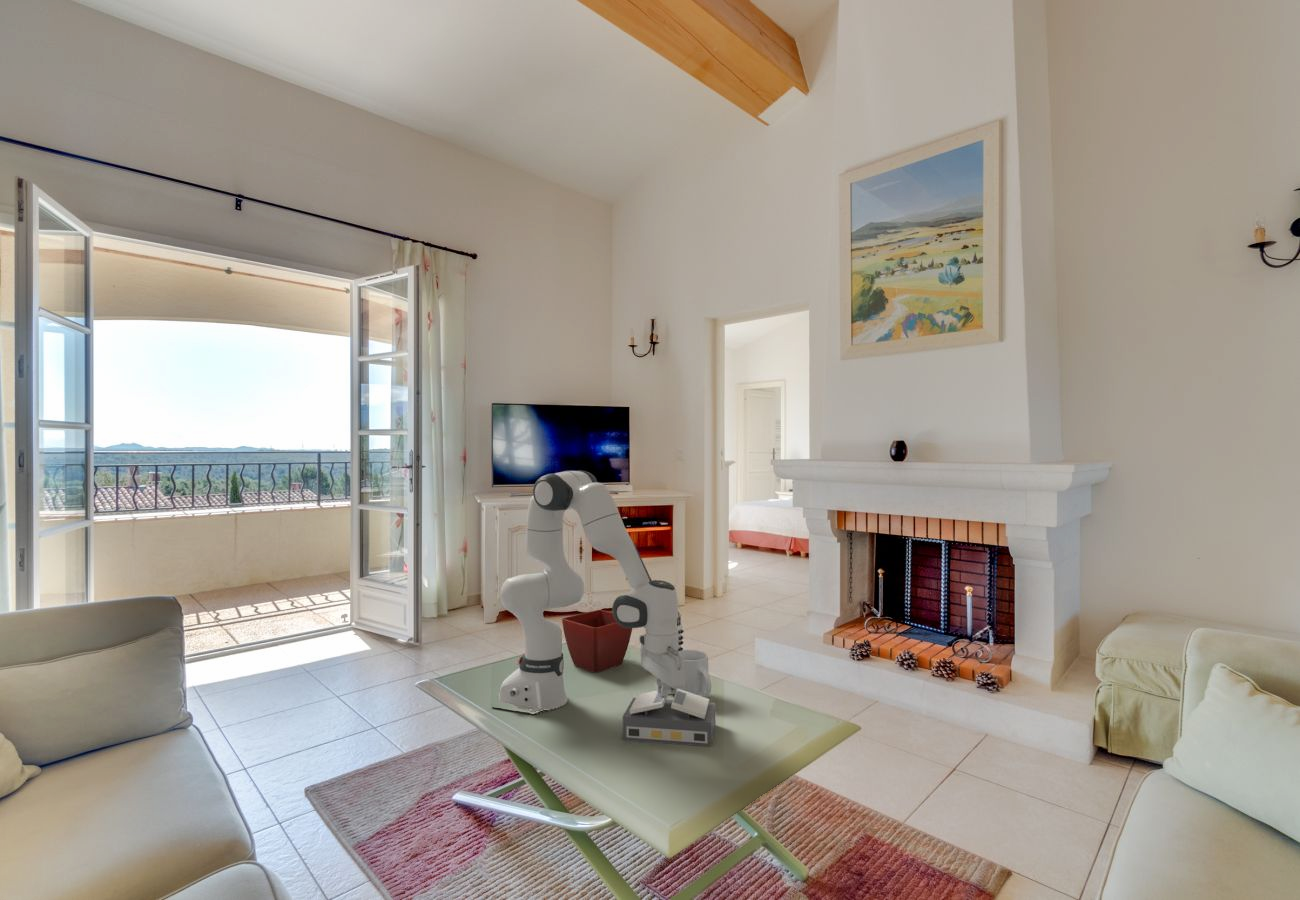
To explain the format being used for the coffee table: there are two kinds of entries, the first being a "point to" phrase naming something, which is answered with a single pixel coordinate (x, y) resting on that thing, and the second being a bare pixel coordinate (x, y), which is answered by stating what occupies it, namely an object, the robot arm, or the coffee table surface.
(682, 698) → the rocker right
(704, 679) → the mug
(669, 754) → the coffee table surface
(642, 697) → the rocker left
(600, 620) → the plant pot
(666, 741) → the switch console
